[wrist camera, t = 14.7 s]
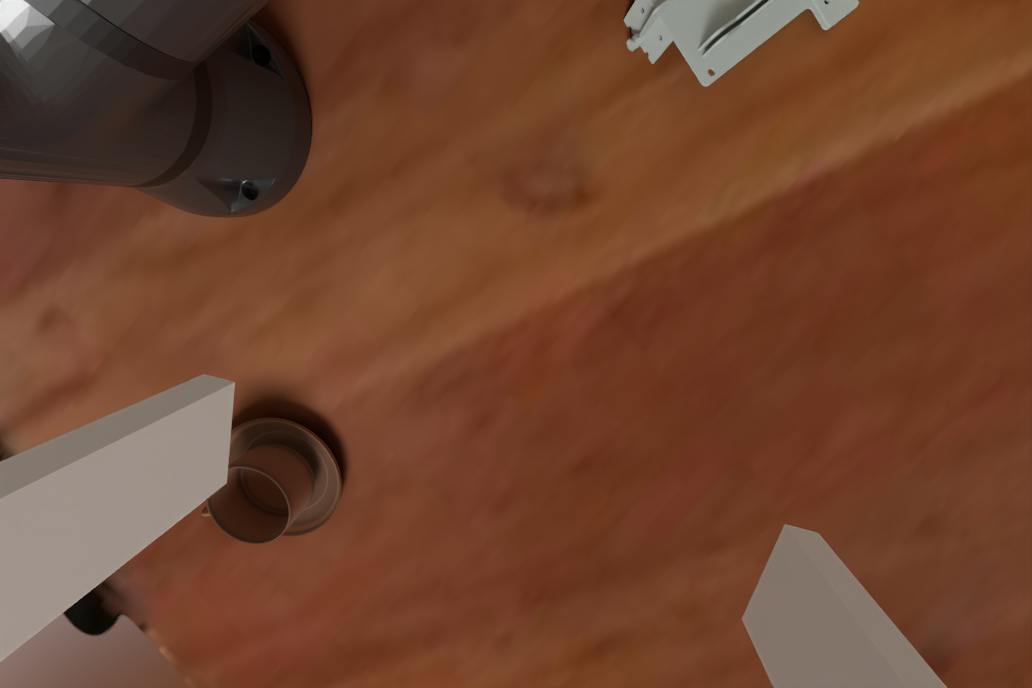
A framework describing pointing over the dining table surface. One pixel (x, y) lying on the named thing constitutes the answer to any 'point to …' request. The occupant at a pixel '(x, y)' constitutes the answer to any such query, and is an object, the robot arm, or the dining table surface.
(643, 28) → the metal bracket
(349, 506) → the dining table surface
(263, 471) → the cup and saucer
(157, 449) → the robot arm
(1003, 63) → the dining table surface
